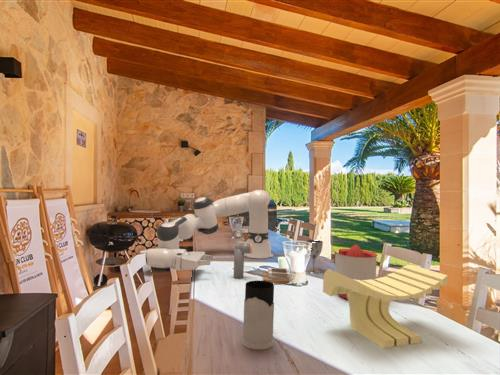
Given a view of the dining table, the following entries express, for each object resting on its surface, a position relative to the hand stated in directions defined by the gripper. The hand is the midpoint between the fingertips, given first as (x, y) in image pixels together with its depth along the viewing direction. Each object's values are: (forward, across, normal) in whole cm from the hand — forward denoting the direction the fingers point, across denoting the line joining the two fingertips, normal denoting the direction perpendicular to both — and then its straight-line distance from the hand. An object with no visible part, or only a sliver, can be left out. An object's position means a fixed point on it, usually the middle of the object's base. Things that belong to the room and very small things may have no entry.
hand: (211, 260), depth 149 cm
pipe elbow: (+14, 0, -7) cm, 16 cm away
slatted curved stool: (+57, +51, -7) cm, 77 cm away
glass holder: (+22, +58, -7) cm, 62 cm away
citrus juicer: (+57, +19, -7) cm, 61 cm away
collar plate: (+30, +1, -7) cm, 31 cm away
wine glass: (+48, -17, -7) cm, 52 cm away
